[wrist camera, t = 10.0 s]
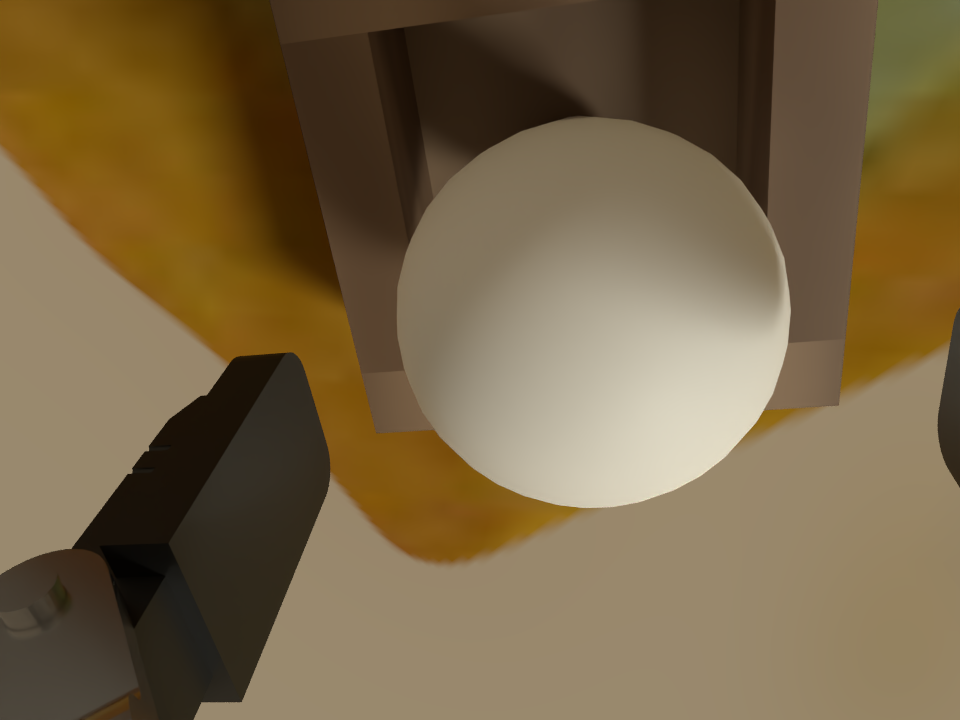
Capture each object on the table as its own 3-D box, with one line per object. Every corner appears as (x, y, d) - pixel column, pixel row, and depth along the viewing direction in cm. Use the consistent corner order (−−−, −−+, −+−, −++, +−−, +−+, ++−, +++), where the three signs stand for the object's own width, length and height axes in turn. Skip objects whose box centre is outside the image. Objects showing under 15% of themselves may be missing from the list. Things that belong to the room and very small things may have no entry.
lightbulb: (758, 158, 19) (944, 440, 10) (571, 313, 22) (580, 649, 13) (585, -39, 17) (617, 83, 8) (402, 157, 20) (267, 420, 11)
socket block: (813, -147, 17) (894, -159, 13) (787, 307, 23) (838, 405, 18) (326, -69, 19) (255, -56, 15) (410, 337, 24) (376, 433, 20)
